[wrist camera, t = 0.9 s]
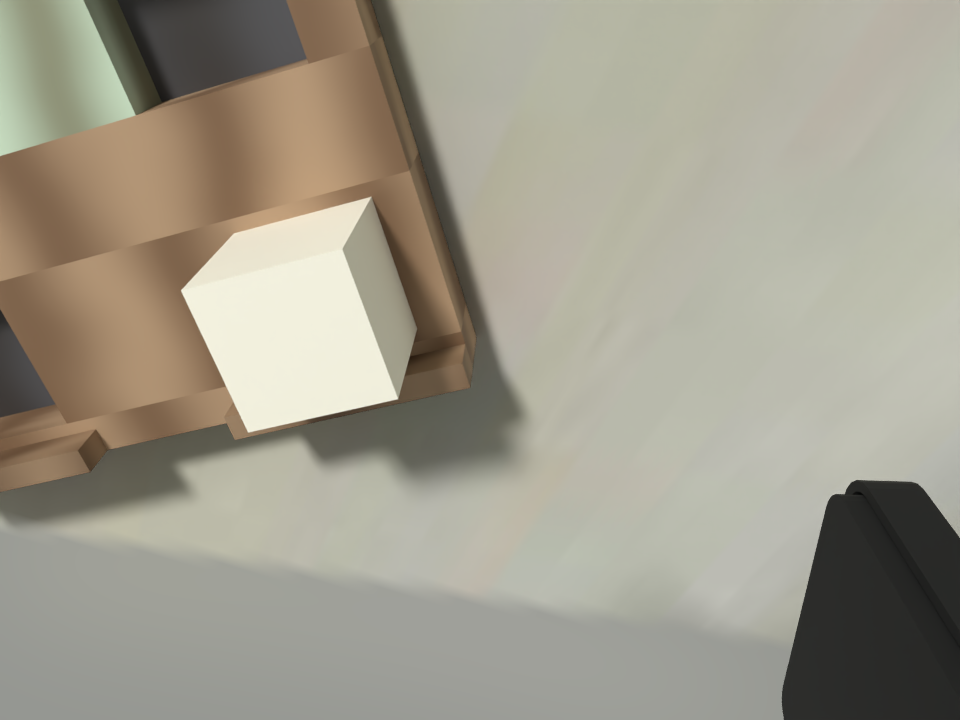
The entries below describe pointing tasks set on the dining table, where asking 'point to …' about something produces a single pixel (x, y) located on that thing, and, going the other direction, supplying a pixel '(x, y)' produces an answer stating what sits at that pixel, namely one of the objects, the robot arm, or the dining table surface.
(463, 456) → the dining table surface
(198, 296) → the block
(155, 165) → the tray
